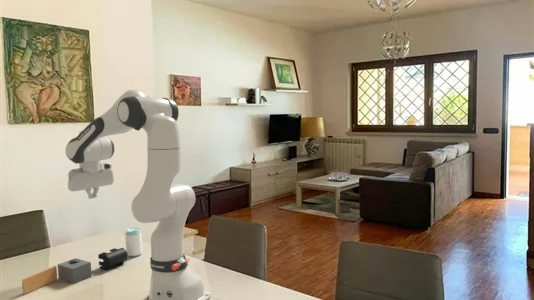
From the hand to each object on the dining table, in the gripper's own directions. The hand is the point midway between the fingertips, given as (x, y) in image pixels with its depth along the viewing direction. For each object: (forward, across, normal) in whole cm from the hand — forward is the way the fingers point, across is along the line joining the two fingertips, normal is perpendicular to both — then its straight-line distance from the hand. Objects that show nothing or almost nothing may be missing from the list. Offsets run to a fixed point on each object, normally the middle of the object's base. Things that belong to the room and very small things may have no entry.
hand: (92, 198), depth 173 cm
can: (+29, +15, -7) cm, 34 cm away
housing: (+29, -15, -7) cm, 33 cm away
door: (+29, -27, -3) cm, 39 cm away
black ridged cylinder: (+29, +1, -10) cm, 31 cm away
